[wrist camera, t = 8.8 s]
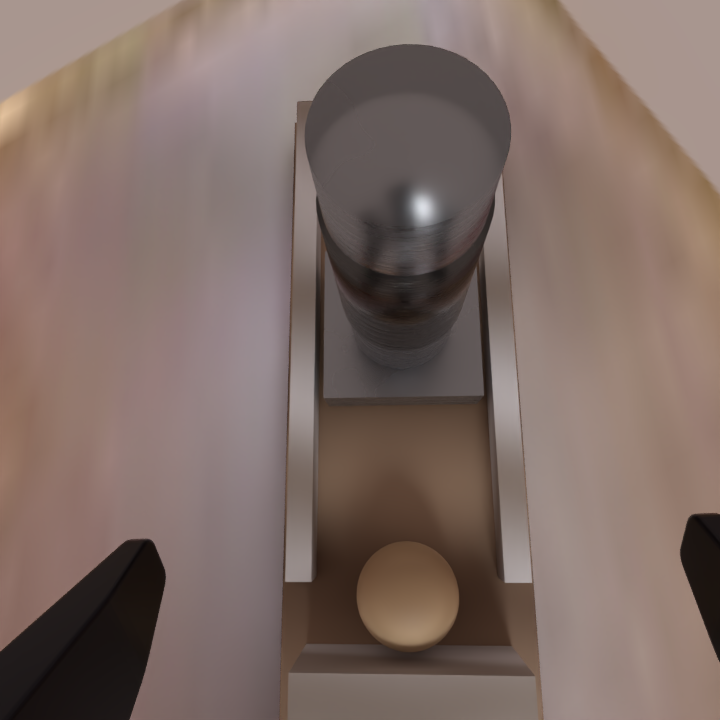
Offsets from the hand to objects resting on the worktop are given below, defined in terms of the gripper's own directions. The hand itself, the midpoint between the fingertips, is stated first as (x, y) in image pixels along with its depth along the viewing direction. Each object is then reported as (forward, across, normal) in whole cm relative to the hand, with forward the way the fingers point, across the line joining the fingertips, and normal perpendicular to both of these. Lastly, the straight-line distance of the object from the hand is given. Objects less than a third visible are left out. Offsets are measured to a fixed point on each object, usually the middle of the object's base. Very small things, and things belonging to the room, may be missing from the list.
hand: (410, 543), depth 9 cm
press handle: (+11, 0, +2) cm, 11 cm away
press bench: (+10, 0, +5) cm, 11 cm away
